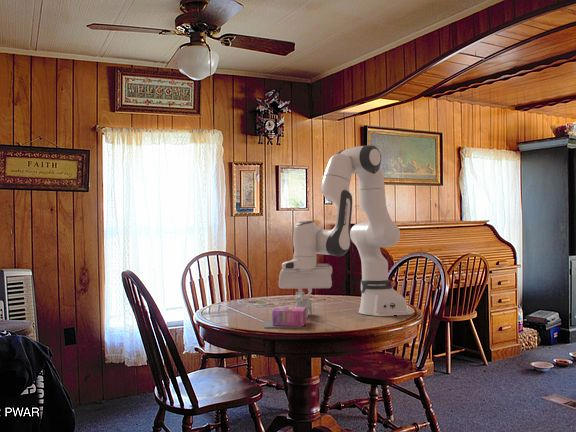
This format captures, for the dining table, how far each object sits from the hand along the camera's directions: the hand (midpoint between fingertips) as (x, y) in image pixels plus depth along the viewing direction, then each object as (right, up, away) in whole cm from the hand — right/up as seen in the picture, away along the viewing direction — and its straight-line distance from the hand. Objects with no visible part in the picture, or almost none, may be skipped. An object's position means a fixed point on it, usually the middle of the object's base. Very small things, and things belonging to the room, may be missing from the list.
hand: (305, 300), depth 195 cm
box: (0, -6, +1) cm, 6 cm away
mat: (-8, -9, +1) cm, 13 cm away
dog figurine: (0, -10, +19) cm, 21 cm away
